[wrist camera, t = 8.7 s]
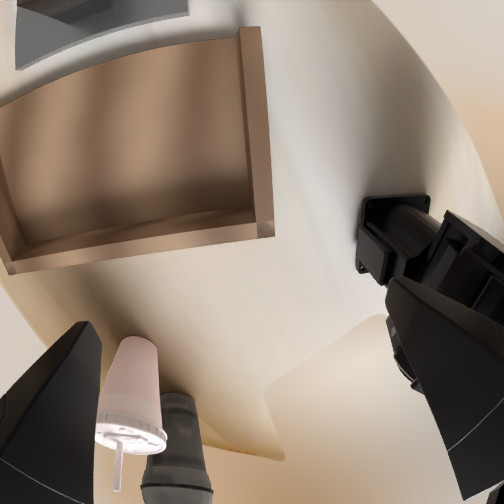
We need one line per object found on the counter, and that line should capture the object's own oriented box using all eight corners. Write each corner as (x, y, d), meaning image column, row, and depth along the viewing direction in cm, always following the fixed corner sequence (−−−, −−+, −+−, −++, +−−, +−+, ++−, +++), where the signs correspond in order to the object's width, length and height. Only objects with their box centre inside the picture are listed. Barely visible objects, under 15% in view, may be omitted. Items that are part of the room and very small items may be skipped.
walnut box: (250, 39, 14) (260, 26, 11) (264, 212, 19) (275, 236, 16) (-8, 115, 12) (-37, 123, 9) (29, 251, 18) (9, 275, 15)
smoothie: (93, 339, 23) (60, 474, 11) (141, 315, 22) (115, 478, 10) (137, 375, 26) (125, 499, 14) (185, 357, 26) (186, 499, 14)
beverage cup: (190, 380, 28) (201, 565, 10) (216, 410, 31) (234, 560, 14) (134, 391, 28) (125, 556, 11) (165, 418, 32) (168, 558, 14)
